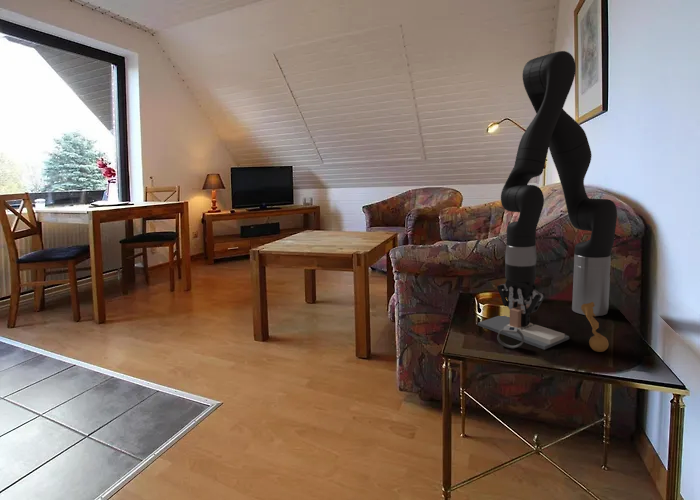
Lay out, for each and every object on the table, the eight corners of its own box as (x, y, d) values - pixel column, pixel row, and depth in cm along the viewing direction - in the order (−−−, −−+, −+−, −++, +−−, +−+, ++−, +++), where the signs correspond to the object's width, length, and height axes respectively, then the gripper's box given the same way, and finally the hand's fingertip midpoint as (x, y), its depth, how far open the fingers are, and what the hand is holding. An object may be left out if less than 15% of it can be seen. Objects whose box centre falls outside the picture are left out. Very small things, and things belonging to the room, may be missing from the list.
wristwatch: (496, 347, 108) (496, 328, 107) (498, 343, 110) (498, 324, 109) (522, 351, 105) (523, 332, 104) (524, 347, 107) (524, 328, 106)
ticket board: (501, 317, 128) (501, 310, 127) (569, 339, 110) (569, 331, 109) (477, 325, 123) (477, 318, 122) (544, 349, 105) (544, 341, 104)
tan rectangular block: (520, 323, 120) (521, 304, 118) (532, 327, 116) (533, 307, 115) (506, 328, 116) (506, 309, 115) (518, 333, 113) (518, 312, 112)
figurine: (608, 359, 98) (611, 309, 96) (578, 355, 101) (580, 306, 99) (608, 345, 105) (610, 298, 103) (580, 341, 108) (582, 295, 106)
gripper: (553, 263, 109) (551, 328, 112) (508, 255, 121) (507, 314, 124) (535, 268, 105) (533, 335, 108) (489, 259, 117) (489, 320, 120)
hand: (519, 324), depth 116 cm, fingers closed on tan rectangular block, 2 cm apart
